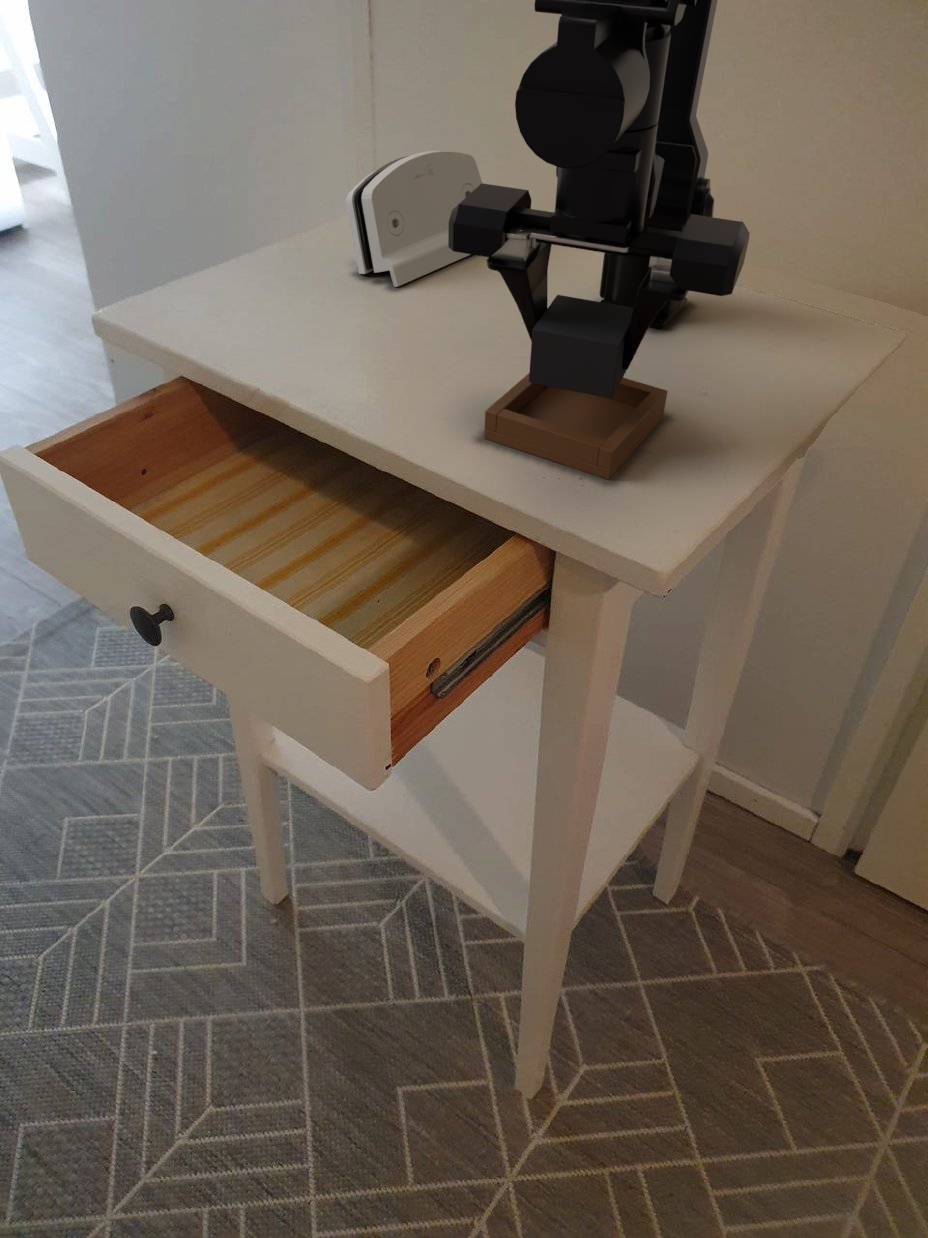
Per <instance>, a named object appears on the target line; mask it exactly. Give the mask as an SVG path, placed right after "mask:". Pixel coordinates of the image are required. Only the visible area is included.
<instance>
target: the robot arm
mask: <svg viewBox="0 0 928 1238" xmlns="http://www.w3.org/2000/svg"><path fill="white" fill-rule="evenodd" d="M717 5H718V0H534V12H535V13H541V14H542V13H543V14H552V15H560V16H559V18H558V25H557V35H556V36H557V38H556V41H555V42H554V43H553V44H551V45H550V46H548V48H546V49H545V50H544V51H542V52H540V54H539V55H537V57H535V58H534V60H532V61H531V62H530V64H529V65H528V67H527V68H526V70H525V71H524V73H523V74H522V76H521V80H520V82H519V85H518V88H517V90H516V91H515V101H514V107H515V119H516V122H517V127H518V129H519V133H520V134H521V136H522V139H523V140H524V143H525V144H526V146H527V147H528V148H529V149H530V150H531V152H533V154H534V155H535V156H537V157H538V158H540V159H541V160H542V161H543V162H545V163H546V164H549V165H551V166H554V167H556V168H555V176H556V178H557V179H556V180H557V181H556V190H555V191H556V193H555V204H554V211H547V210H540V209H534V208H532V197H531V194H530V190H529V189H522V188H516V187H510V186H503V185H497V184H489V183H483V182H482V183H481V184H480V185H479V186H478V187H477V188H476V189H475V190H473V191H472V192H471V193H470V194H469V195H468V196H467V197H466V198H465V199H464V200H463V201H462V202H460V203H459V204H458V205H457V206H456V207H455V208H454V209H453V210H452V212H451V215H450V219H449V226H448V247H449V248H450V249H451V250H452V251H454V252H460V253H466V254H471V255H472V256H479V257H485V258H487V260H486V266H487V268H488V269H489V270H491V271H496V272H498V273H499V274H500V277H502V280H503V281H504V283H505V285H506V287H507V289H508V291H509V293H510V294H511V296H512V298H513V300H514V302H515V304H516V307H517V309H518V311H519V313H520V316H521V318H522V322H523V324H524V326H525V329H526V332H527V334H528V337H529V339H530V343H532V331H533V328H534V327H535V325H536V324H537V322H538V321H539V320H540V318H541V317H542V316H543V314H544V313H545V311H546V310H547V309H548V287H549V286H548V285H549V284H548V280H549V279H548V278H549V277H548V269H549V262H550V256H551V250H552V246H553V245H554V246H560V247H566V248H573V249H579V250H584V251H585V250H586V251H591V252H598V253H602V254H603V253H604V254H603V261H602V267H601V268H602V270H601V276H600V277H601V278H600V286H599V297H600V299H601V300H600V301H599V302H603V303H608V304H614V305H620V306H626V307H631V308H634V309H633V313H632V317H631V322H630V326H629V330H628V334H627V338H626V342H625V346H624V353H623V369H626V371H627V370H629V368H630V365H631V364H632V362H633V360H634V358H635V356H636V354H637V351H638V349H639V347H640V346H641V344H642V341H644V340H643V339H644V338H645V335H646V334H647V332H648V330H649V327H653V328H657V329H662V328H664V327H665V326H666V325H667V324H669V322H670V321H671V320H672V319H673V318H674V317H675V316H676V315H677V314H678V313H679V312H680V311H681V310H682V309H683V308H684V307H685V306H686V305H687V304H688V297H687V295H688V293H689V292H694V293H699V294H706V295H713V296H716V297H717V296H718V297H725V296H729V295H732V294H733V291H734V290H735V287H736V285H737V282H738V280H739V278H740V274H741V271H742V269H743V266H744V264H745V259H746V255H747V250H748V245H749V241H750V232H749V230H748V228H747V226H746V224H745V222H744V221H739V220H733V219H728V218H727V219H726V218H720V217H718V218H717V217H714V210H715V209H714V208H715V198H714V197H713V195H712V188H711V178H707V177H705V176H706V170H707V165H708V160H709V150H708V148H707V145H706V141H705V138H704V136H703V132H702V130H701V126H700V124H699V121H698V120H699V119H698V118H697V112H698V107H699V102H700V97H701V92H702V91H701V90H702V85H703V79H704V74H705V70H706V64H707V58H708V53H709V49H710V43H711V37H712V32H713V28H714V27H713V26H714V21H715V15H716V10H717V7H718V6H717Z"/></svg>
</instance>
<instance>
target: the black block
mask: <svg viewBox="0 0 928 1238" xmlns="http://www.w3.org/2000/svg"><path fill="white" fill-rule="evenodd" d="M633 309H634V308H631V307H626V306H620V305H614V304H608V303H603V302H600V301H596V300H590V299H585V298H579V297H573V296H567V295H561V294H557V295H556V296H555V297H554V299H553V300H552V302H551V303H550V305H549V306H547V310H546V311H545V313H544V314H543V316H542V317H541V318H540V320H539V321H538V322H537V324H536V325H535V327H534V328H533V331H532V342H531V345H530V346H531V347H530V357H529V358H530V359H529V371H528V374H529V382H530V383H535V384H540V385H545V386H550V387H555V388H560V389H565V390H570V391H575V392H580V393H585V394H590V395H595V396H601V397H606V398H612V397H613V395H614V393H615V392H616V390H617V388H618V386H619V384H620V382H621V380H622V378H624V377H625V375H626V373H627V370H626V369H623V353H624V346H625V342H626V338H627V334H628V330H629V326H630V322H631V317H632V313H633Z"/></svg>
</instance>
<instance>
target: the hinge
mask: <svg viewBox="0 0 928 1238" xmlns="http://www.w3.org/2000/svg"><path fill="white" fill-rule="evenodd" d="M481 183H483V181H482V178H481V174H480V171H479V168H478V164H477V161H476V160H475V158H474V157H473V155H471V154H467V153H463V152H458V151H448V150H447V151H446V150H428V151H421V152H418V153H413V154H408V155H405V156H401V157H398V158H396V159H393V160H391V161H389V162H387V163H386V164H384V165H382V166H380V167H379V168H377V169H376V170H374V171H372V172H370V174H368V175H366V176H365V177H364V178H363V179H362V180H360V181H359V182H358V183H357V184H356V185H355V186H353V188H352V189H351V191H349V193H348V194H347V195H346V199H345V207H346V210H347V216H348V222H349V227H350V228H349V229H350V233H351V239H352V244H353V248H354V250H353V251H354V254H355V261H356V265H357V266H356V267H357V270H358V275H366V274H369V273H371V272H373V273H375V274H376V273H382V272H388V271H389V274H390V277H391V281H392V285H393V288H397V287H400V286H402V285H404V284H407V283H409V282H412V281H414V280H417V279H418V278H420V277H423V276H425V275H427V274H430V273H432V272H435V271H437V270H439V269H441V268H443V267H446V266H448V265H450V264H453V263H455V262H457V261H459V260H461V259H464V258H466V257H468V256H471V255H472V254H466V253H460V252H454V251H452V250H451V249H450V248H449V247H448V226H449V219H450V215H451V212H452V210H453V209H454V208H455V207H456V206H457V205H458V204H459V203H460V202H462V201H463V200H464V199H465V198H466V197H467V196H468V195H469V194H470V193H471V192H472V191H473V190H475V189H476V188H477V187H478V186H479V185H480V184H481Z"/></svg>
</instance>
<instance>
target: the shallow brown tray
mask: <svg viewBox="0 0 928 1238" xmlns="http://www.w3.org/2000/svg"><path fill="white" fill-rule="evenodd" d="M668 391H669V390H666V389H663V388H661V387H658V386H657V387H655V386H654V385H650V384H647V383H643V382H639V381H636V380H633V379H629V378H627V377H626V378H625V377H623V378H622V380H621V382H620V384H619V386H618V388H617V390H616V392H615V393H614V395H613V397H612V398H606V397H601V396H595V395H590V394H585V393H580V392H575V391H570V390H565V389H560V388H555V387H550V386H545V385H540V384H535V383H530V382H529V373H527V374H526V375H524V377H522V378H521V379H520V380H519V381H518V382H517V383H516V384H514V385H513V386H512V387H511V388H510V389H509V390H508V391H506V392H505V393H504V394H503V395H502V396H501V397H500V398H498V399H497V400H496V401H494V403H492V404H491V405H490V406H489V407H488V408H487V409H485V412H484V430H483V438H484V439H485V440H488V441H491V442H494V443H497V444H501V445H504V446H506V447H510V448H513V449H516V450H519V451H522V452H525V453H528V454H531V455H534V456H536V457H539V458H543V459H545V460H549V461H552V462H554V463H558V464H561V465H564V466H567V467H570V468H573V469H576V470H578V471H582V472H585V473H588V474H590V475H593V476H597V477H600V478H603V479H605V480H610V479H611V478H612V476H613V475H614V474H615V473H616V472H617V471H618V469H619V468H620V467H621V466H622V465H623V464H624V463H625V462H626V460H627V459H628V458H629V457H630V456H631V455H632V453H634V451H635V450H636V449H637V448H638V447H639V445H641V443H642V442H643V441H644V440H645V438H646V437H647V436H649V434H650V433H651V432H652V431H653V429H654V428H655V427H656V426H657V425H658V424H659V422H660V421H661V420H662V419H663V418H664V414H665V408H666V404H667V397H668Z"/></svg>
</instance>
